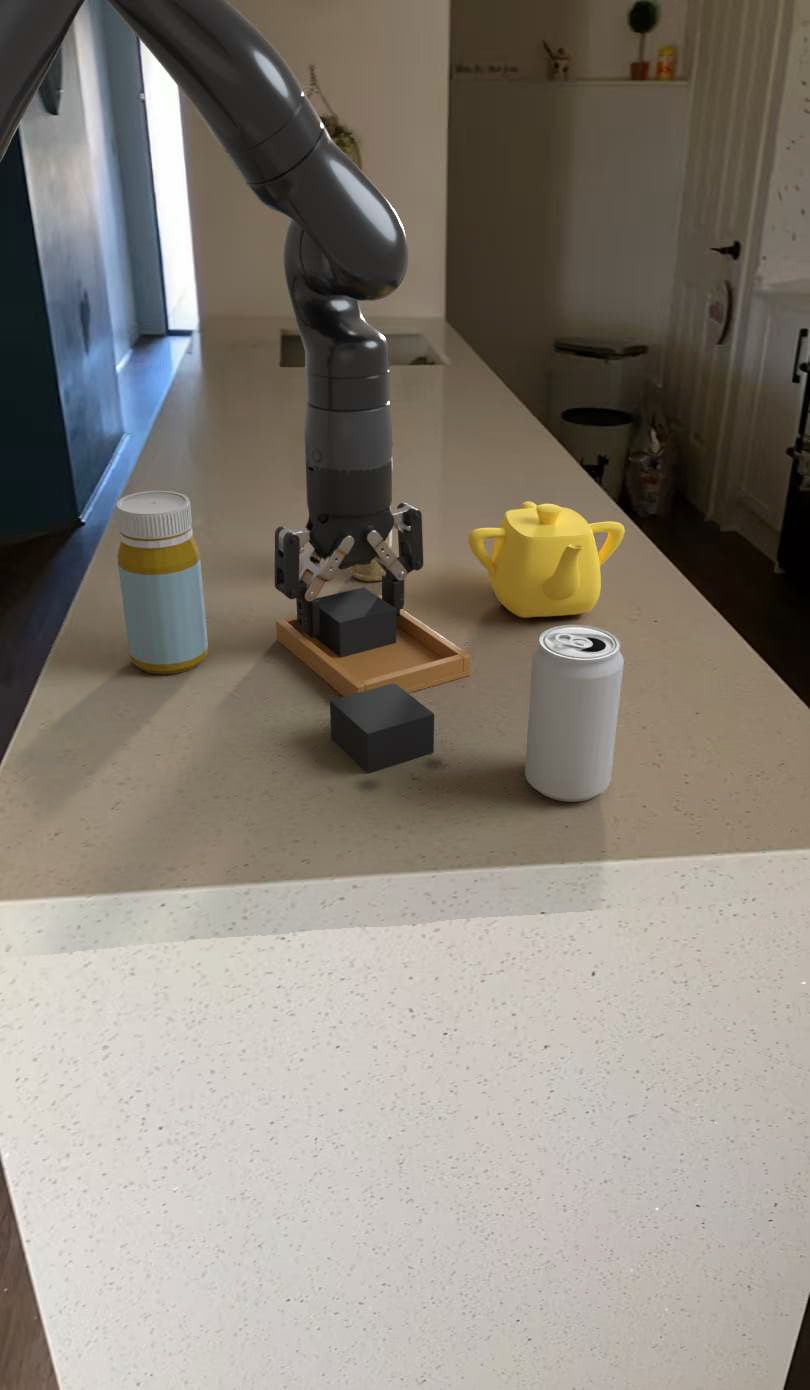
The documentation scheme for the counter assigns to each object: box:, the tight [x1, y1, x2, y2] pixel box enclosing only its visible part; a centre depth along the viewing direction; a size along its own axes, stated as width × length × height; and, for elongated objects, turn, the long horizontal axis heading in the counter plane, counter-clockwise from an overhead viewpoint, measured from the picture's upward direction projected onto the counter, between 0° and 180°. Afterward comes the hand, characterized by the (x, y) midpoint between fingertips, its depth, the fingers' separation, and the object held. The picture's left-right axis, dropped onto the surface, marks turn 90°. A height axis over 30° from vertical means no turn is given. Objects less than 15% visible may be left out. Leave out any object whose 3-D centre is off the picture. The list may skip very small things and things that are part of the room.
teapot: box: [467, 501, 626, 619], centre depth 109 cm, size 14×13×10 cm
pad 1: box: [315, 586, 396, 658], centre depth 102 cm, size 6×6×4 cm
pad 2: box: [329, 683, 435, 774], centre depth 86 cm, size 6×6×4 cm
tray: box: [275, 595, 472, 697], centre depth 100 cm, size 12×16×2 cm
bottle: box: [115, 490, 209, 675], centre depth 96 cm, size 7×7×15 cm
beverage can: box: [524, 624, 625, 803], centre depth 79 cm, size 6×6×12 cm
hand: (351, 624), depth 102 cm, fingers open, 8 cm apart
